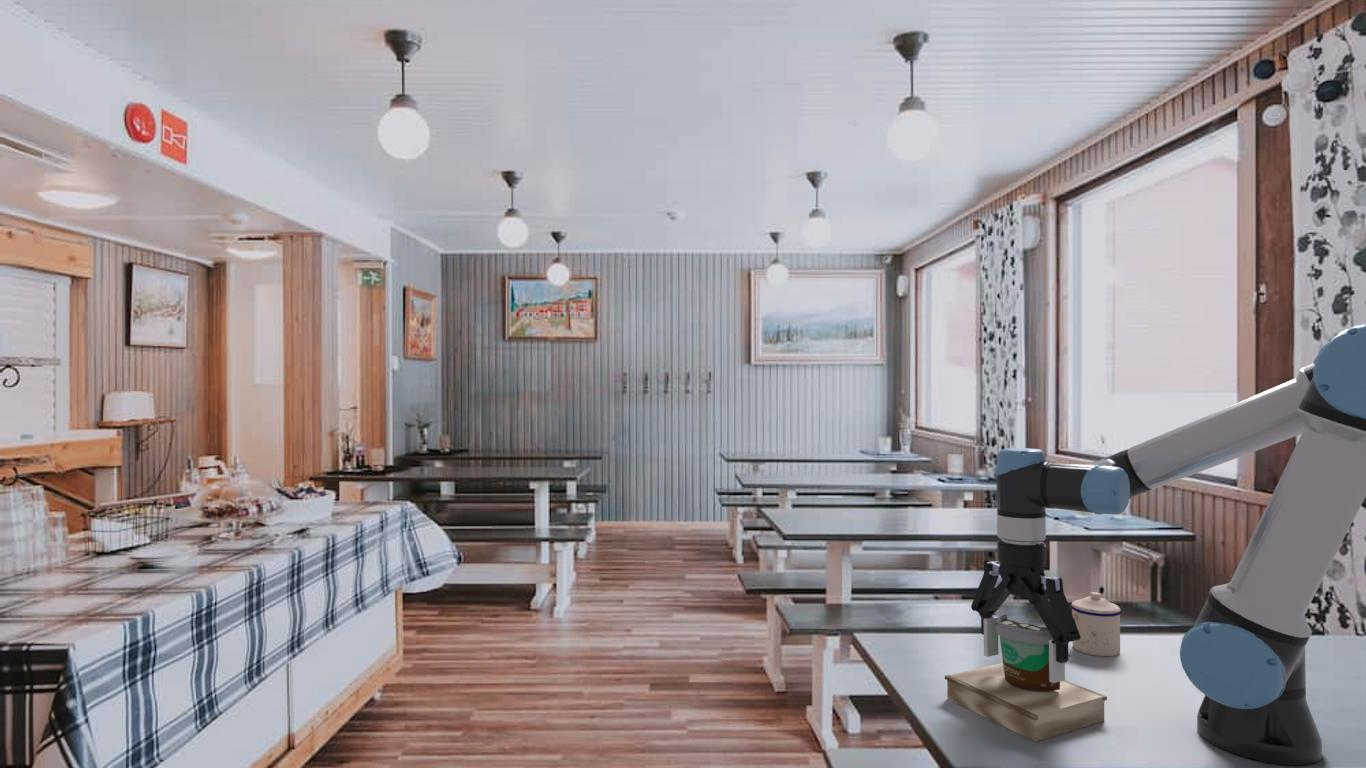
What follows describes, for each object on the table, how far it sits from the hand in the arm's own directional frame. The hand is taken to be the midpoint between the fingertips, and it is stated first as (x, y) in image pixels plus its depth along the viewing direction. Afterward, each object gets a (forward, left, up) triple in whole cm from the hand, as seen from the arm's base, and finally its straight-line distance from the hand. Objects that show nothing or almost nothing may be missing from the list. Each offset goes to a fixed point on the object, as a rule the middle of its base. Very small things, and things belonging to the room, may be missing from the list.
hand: (1022, 667), depth 127 cm
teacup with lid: (+14, -36, -7) cm, 39 cm away
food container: (0, 0, -3) cm, 3 cm away
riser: (0, 0, -7) cm, 7 cm away
